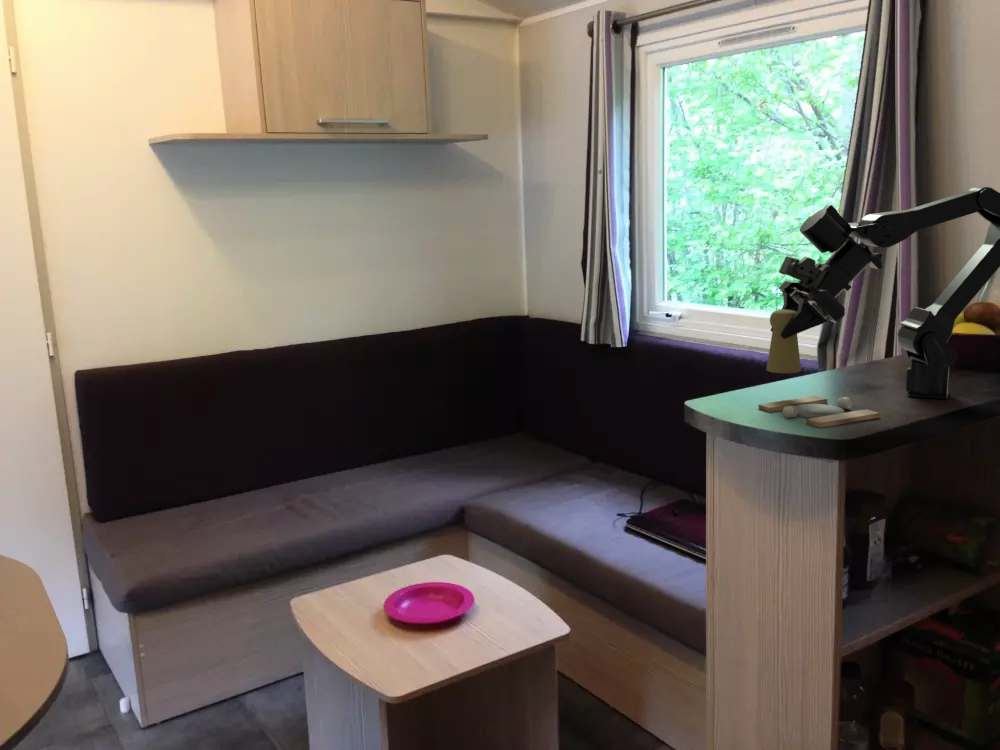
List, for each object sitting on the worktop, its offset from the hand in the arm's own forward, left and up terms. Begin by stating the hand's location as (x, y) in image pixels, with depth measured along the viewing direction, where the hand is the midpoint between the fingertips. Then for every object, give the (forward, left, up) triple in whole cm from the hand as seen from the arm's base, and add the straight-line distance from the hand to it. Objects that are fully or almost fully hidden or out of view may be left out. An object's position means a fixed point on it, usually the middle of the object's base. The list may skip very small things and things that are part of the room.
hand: (777, 334), depth 164 cm
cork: (-1, -1, -7) cm, 7 cm away
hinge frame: (-8, +7, -12) cm, 16 cm away
